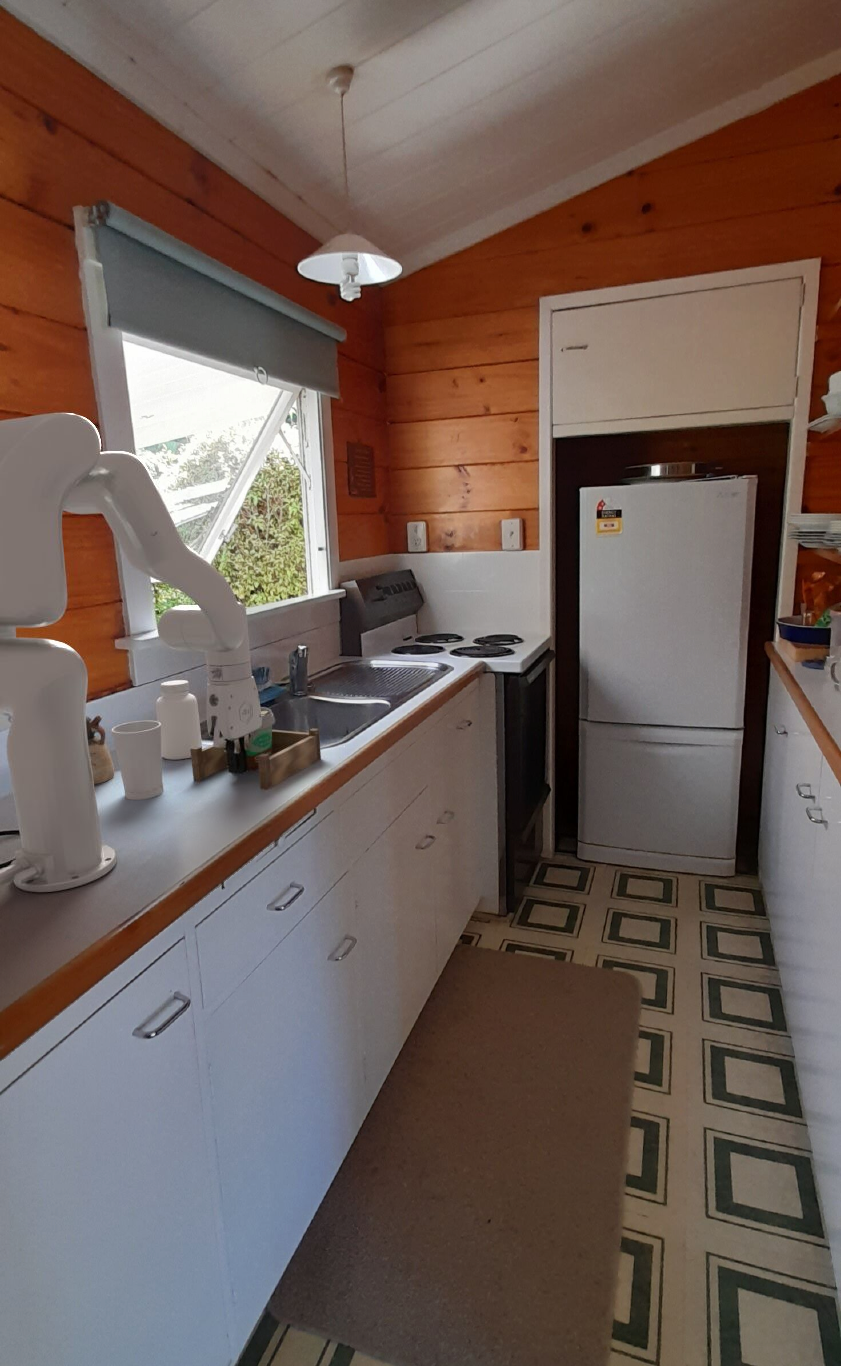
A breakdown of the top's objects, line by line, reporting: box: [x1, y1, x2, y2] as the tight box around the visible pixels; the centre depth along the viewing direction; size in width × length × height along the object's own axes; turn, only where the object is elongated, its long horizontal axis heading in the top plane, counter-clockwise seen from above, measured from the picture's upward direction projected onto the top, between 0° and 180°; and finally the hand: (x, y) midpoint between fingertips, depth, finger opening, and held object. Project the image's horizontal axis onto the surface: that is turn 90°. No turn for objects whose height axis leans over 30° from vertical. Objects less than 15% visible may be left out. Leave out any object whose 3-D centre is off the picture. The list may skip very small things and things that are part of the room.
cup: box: [111, 720, 164, 801], centre depth 127 cm, size 8×8×12 cm
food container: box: [231, 706, 276, 772], centre depth 140 cm, size 12×6×10 cm, turn 161°
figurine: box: [86, 715, 115, 785], centre depth 136 cm, size 7×7×12 cm
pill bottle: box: [155, 679, 203, 761], centre depth 148 cm, size 8×8×15 cm
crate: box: [190, 728, 322, 791], centre depth 138 cm, size 18×16×6 cm
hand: (238, 772), depth 133 cm, fingers closed
